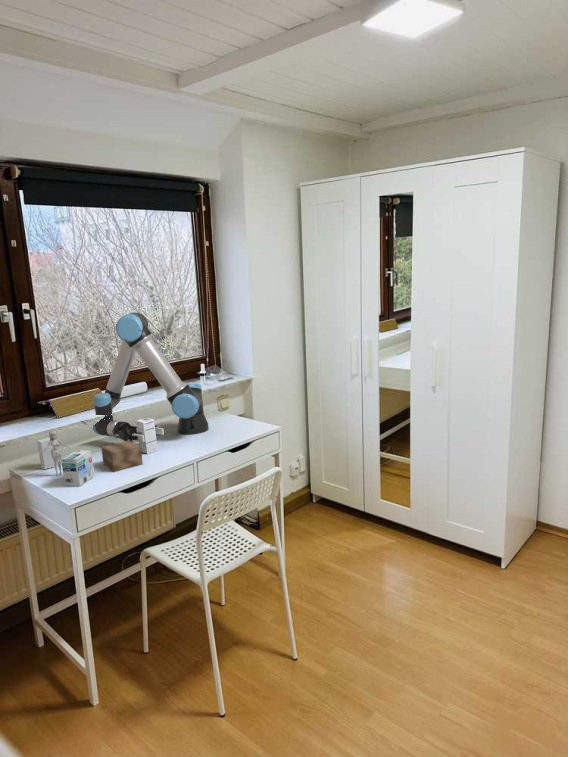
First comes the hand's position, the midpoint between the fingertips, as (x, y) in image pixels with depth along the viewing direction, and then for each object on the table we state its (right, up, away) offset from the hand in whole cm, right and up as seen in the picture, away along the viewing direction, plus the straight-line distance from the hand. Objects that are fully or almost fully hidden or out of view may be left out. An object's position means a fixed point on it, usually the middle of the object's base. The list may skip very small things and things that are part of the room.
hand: (153, 435), depth 242 cm
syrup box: (-3, -8, +4) cm, 9 cm away
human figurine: (-33, -14, -19) cm, 41 cm away
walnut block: (-10, -11, -11) cm, 19 cm away
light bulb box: (-22, -15, -27) cm, 38 cm away
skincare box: (-41, -13, -8) cm, 44 cm away
